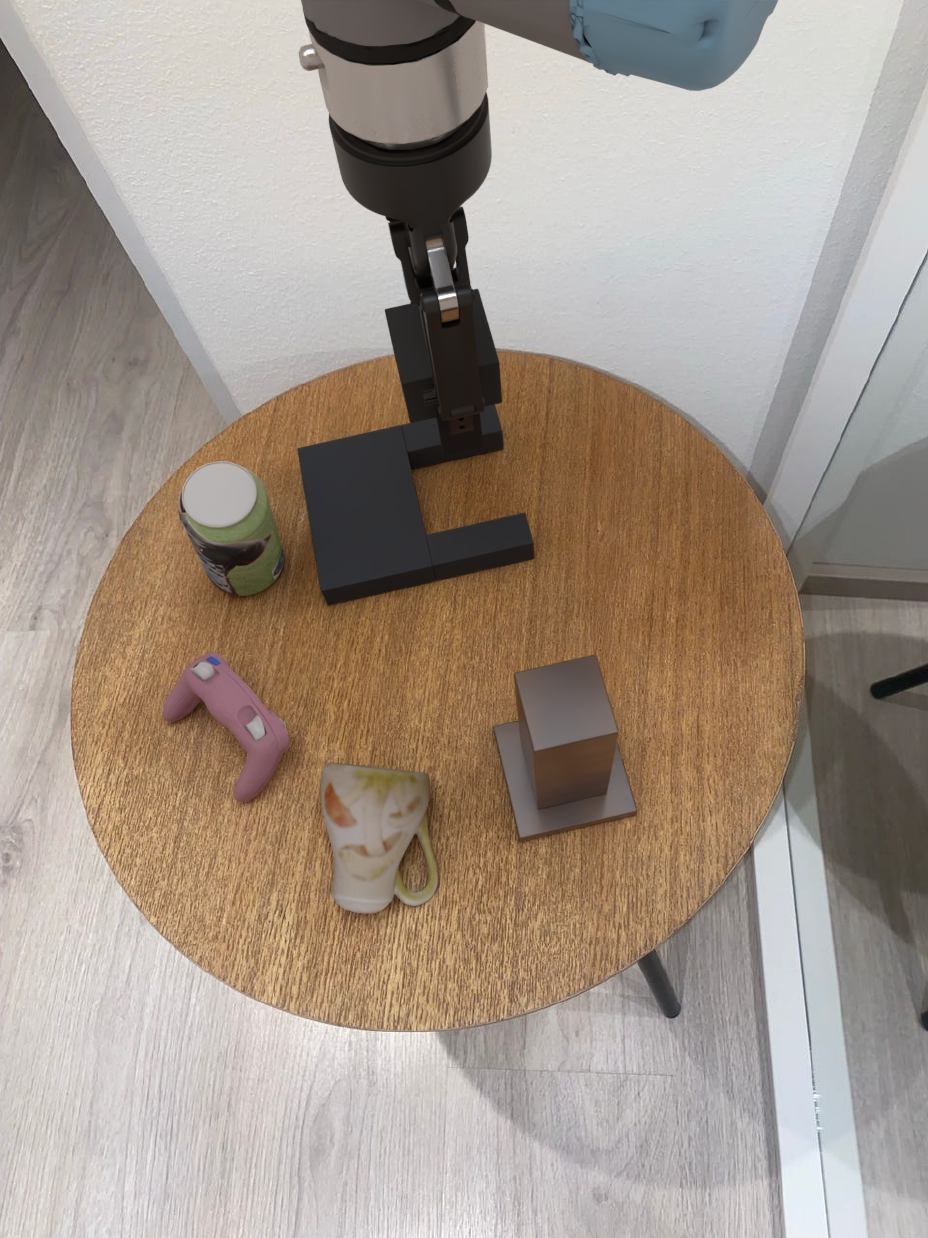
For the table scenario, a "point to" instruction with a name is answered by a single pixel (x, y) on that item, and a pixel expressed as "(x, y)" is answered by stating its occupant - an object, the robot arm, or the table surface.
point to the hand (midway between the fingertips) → (452, 406)
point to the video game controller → (232, 718)
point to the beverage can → (231, 527)
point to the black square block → (416, 361)
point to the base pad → (395, 513)
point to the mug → (375, 833)
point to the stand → (563, 751)
